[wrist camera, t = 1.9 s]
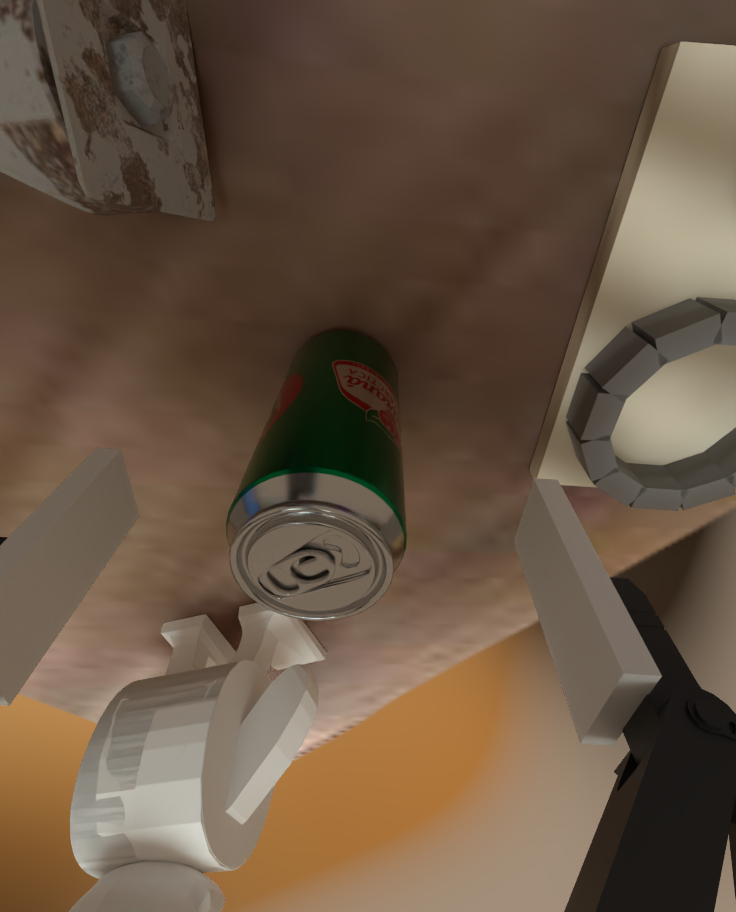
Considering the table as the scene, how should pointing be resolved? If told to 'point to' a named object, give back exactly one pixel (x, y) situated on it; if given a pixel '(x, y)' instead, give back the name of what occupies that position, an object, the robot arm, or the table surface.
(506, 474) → the table surface
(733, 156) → the socket board
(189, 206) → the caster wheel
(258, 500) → the soda can
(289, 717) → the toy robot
